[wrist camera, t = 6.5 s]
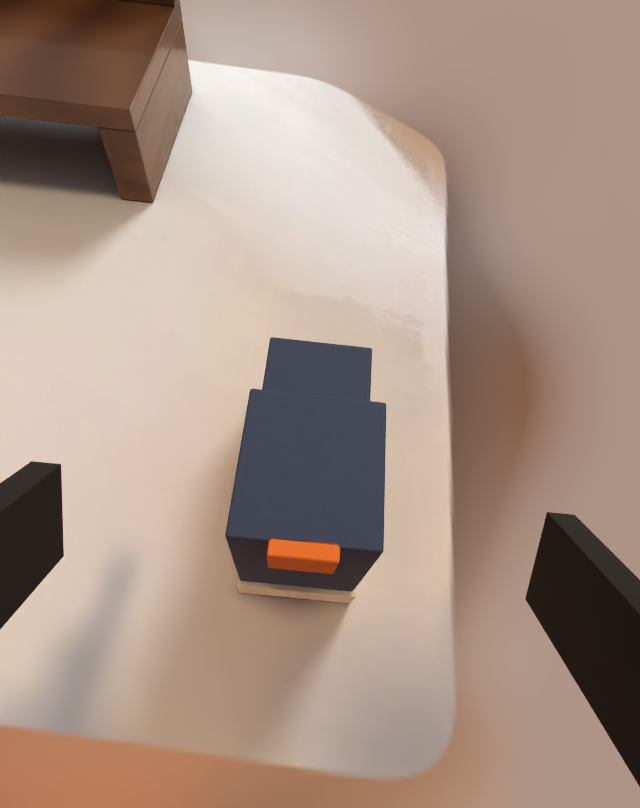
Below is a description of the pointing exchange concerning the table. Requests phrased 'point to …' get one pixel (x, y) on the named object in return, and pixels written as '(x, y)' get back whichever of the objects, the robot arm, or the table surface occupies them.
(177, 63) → the shoe shelf
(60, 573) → the table surface
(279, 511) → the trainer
